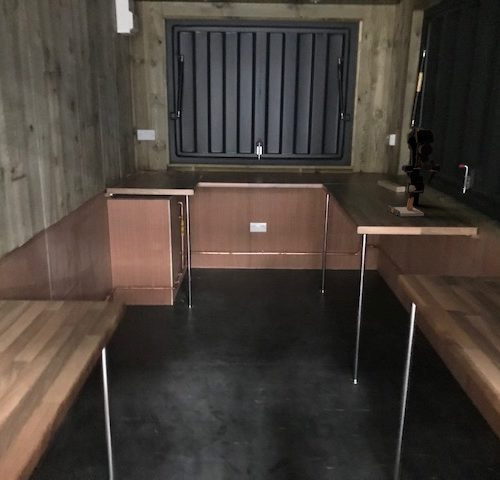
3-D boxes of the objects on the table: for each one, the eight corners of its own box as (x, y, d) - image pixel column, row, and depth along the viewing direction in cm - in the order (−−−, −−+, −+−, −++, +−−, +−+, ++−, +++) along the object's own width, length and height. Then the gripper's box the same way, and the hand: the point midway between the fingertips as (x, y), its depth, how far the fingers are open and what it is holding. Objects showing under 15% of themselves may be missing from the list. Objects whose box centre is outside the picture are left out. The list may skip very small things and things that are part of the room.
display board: (387, 210, 263) (387, 205, 263) (412, 209, 264) (412, 205, 264) (397, 216, 249) (397, 211, 248) (423, 215, 250) (424, 210, 249)
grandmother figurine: (404, 208, 260) (405, 184, 256) (411, 208, 260) (413, 184, 256) (408, 211, 252) (410, 186, 249) (416, 211, 252) (418, 186, 249)
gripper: (410, 156, 250) (408, 187, 254) (447, 155, 251) (444, 186, 255) (402, 153, 260) (400, 184, 264) (437, 153, 262) (435, 183, 266)
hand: (419, 184), depth 262 cm, fingers open, 9 cm apart
